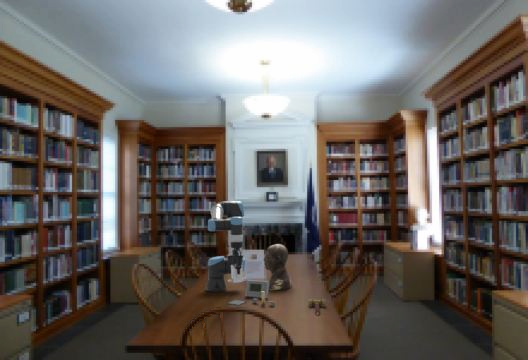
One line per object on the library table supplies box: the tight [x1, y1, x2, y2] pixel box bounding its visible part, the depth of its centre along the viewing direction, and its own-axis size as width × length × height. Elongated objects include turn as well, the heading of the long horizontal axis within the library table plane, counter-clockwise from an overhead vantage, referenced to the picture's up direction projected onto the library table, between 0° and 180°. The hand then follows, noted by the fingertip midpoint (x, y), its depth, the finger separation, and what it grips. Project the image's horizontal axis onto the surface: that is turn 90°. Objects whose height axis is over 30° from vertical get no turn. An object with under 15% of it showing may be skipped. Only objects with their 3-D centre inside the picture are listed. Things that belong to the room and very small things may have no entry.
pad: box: [227, 299, 246, 307], centre depth 244 cm, size 8×8×1 cm
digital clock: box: [244, 279, 270, 299], centre depth 260 cm, size 16×9×11 cm, turn 59°
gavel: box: [307, 298, 326, 316], centre depth 227 cm, size 21×5×10 cm
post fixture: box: [252, 291, 275, 307], centre depth 241 cm, size 15×2×8 cm, turn 58°
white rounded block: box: [227, 263, 248, 284], centre depth 245 cm, size 12×6×11 cm, turn 108°
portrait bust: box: [263, 243, 292, 291], centre depth 294 cm, size 21×35×31 cm, turn 174°
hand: (236, 278), depth 244 cm, fingers closed on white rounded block, 6 cm apart
